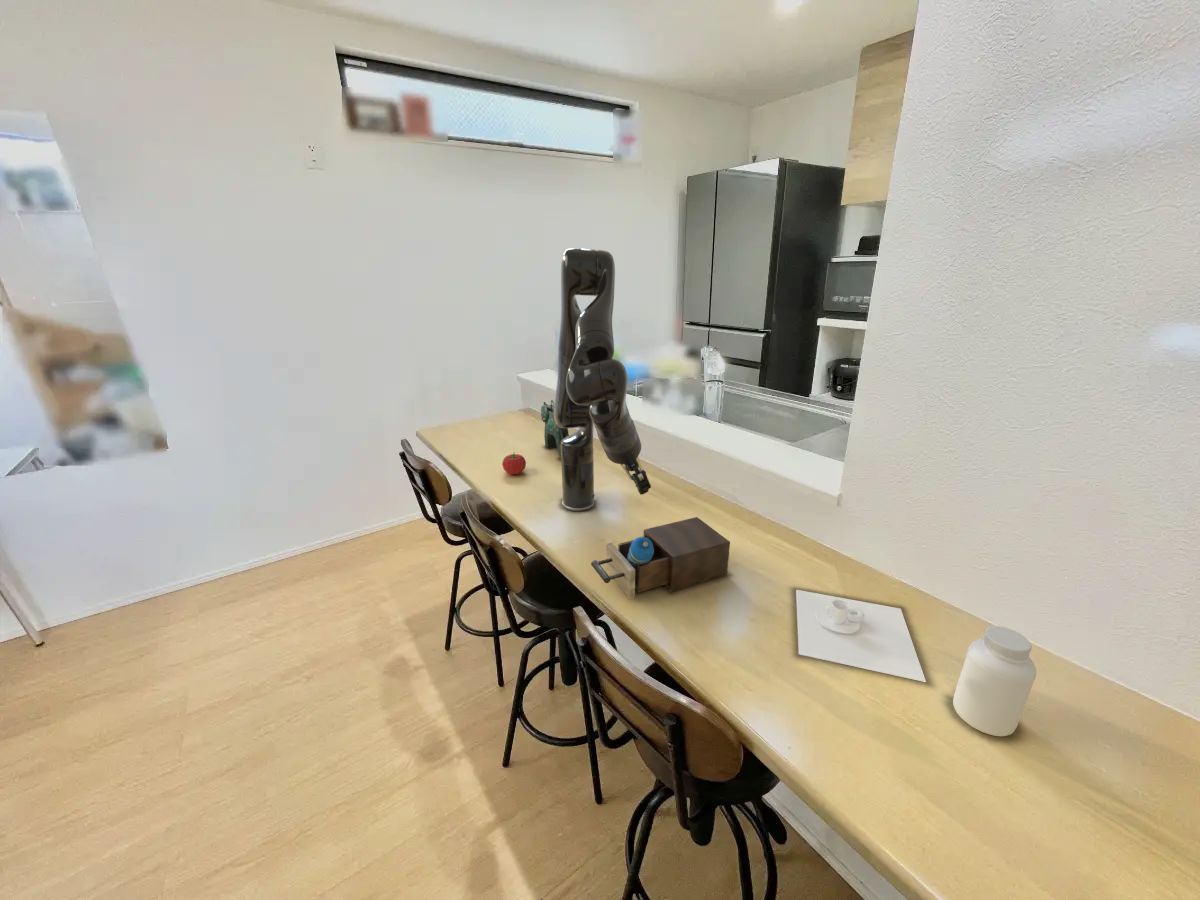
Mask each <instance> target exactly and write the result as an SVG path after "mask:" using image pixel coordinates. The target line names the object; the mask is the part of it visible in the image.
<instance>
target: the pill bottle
mask: <svg viewBox="0 0 1200 900" xmlns="http://www.w3.org/2000/svg"><path fill="white" fill-rule="evenodd" d="M1032 649H1033V646H1032V643H1031V642H1030V640H1029V639H1028V638H1027V637H1026V636H1024V635H1023V634H1021V633H1020V632H1018V631H1016V630H1013V629H1011V628H1009V627H1005V626H998V625H992V626H988V627H987V628H986V629H985V630H984V634H983V638H978V639H976V640H974V641H973V642H972V643H971V644H970V645H969V647H968V650H967V651H966V656H965V659H964V662H963V665H962V669H961V672H960V674H959V678H958V681H957V685H956V688H955V690H954V691H955V692H954V695H953V700H952V704H953V708H954V710H955V712H956V714H957V715H958V716H959V717H960V718H961V720H963V721H964V722H965V723H966V724H968V725H969V726H970V727H972V728H973V729H976V730H977V731H980V732H982V733H984V734H987V735H990V736H994V737H1007V736H1010V735H1012V734H1013V733H1014V732H1015V731H1016V729H1017V727H1018V725H1019V722H1020V719H1021V717H1022V714H1023V711H1024V709H1025V706H1026V704H1027V700H1028V699H1029V696H1030V693H1031V690H1032V688H1033V685H1034V682H1035V680H1036V678H1037V677H1036V676H1037V668H1036V665H1035V663H1034V661H1033V659H1032V658H1031V657H1030V655H1031V654H1030V653H1031V651H1032Z"/></svg>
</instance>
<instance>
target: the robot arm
mask: <svg viewBox="0 0 1200 900" xmlns="http://www.w3.org/2000/svg"><path fill="white" fill-rule="evenodd" d="M560 263H561V265H560V267H561V268H560V323H559V336H558V347H557V348H558V350H557V380H556V389H555V396H554V401H553V402H554V404H553V405H554V419H555V422H556V424H557V426H558V427H560V428H568V429H575V428H577V429H578V430H576V431H575V432H574V433H572V434H569V436H567V437H565V438H564V439H563V440H562V441H561V460H560V462H561V464H560V465H561V487H562V488H561V489H562V490H561V491H562V501H561V502H562V507H563V508H564V509H566V510H569V511H573V512H583V511H587V510H589V509H590V510H591V508H593V507H594V506H595V476H594V475H595V474H594V473H595V472H594V465H595V463H594V461H595V460H594V428H595V430H596V433H597V438H598V440H599V442H600V445H601V446H602V449H603V452H604V453H605V455H606V457H607V459H608V460H609V461H610V462H612V463H614V464H617V465H620V467H621V468H622V469H623V470H624V471H625V473H626V476H627V477H628V478H629V479H630V481H633V483H634V486H635V488H636V490H637V492H638V493H639V495H642V496H643V495H645V494H646V493H648V492H649V489H651V488H652V485H651V482H650V481H649V478H648V475H647V471H645V470H644V467H643V465H642V464H641V460H640V457H639V455H640V453H641V452H642V441H641V439H640V436H639V433H638V429H637V427H636V424H635V422H634V420H633V418H632V417H631V414H630V411H629V408H628V404H627V393H628V392H627V391H628V373H627V369H626V367H625V366H624V364H623V363H622V362H621V361H620V360H618V359H616V358H614V355H615V340H614V332H613V313H614V303H615V283H616V282H615V281H616V267H615V266H616V265H615V260H614V257H613V254H612V253H611V252H610V251H608V250H602V249H594V248H592V249H591V248H580V247H579V248H578V247H577V248H576V247H572V248H571V247H569V248H567V249H566V250H565V251H564V252H563V254H562V257H561V262H560ZM577 296H586V297H595V298H594V299H592V301H591V302H590V303H589V304H588V305H587V306H586V307H585V308H584V310H583V311H582V310H581V308H580V306H579V303H578V300H577ZM556 448H557V450H558V445H557V442H556ZM630 472H634V473H632V474H631V473H630Z"/></svg>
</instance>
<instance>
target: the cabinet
mask: <svg viewBox="0 0 1200 900" xmlns="http://www.w3.org/2000/svg"><path fill="white" fill-rule="evenodd" d="M643 537H649V538H650V539H651V540H652V541H653V542H654V543H655V544H656V545H657V546H658V547H659V548H660V549H661V550H662V551H663V552H664V553H666V554H667V555H668V556H669V557H670V558H671V567H670V583H668V584H665V585H664V586H665V587H666V588H667V589H668V590H669V591H670V593H673V592H677V591H679V590H682V589H686V588H689V587H693V586H695V585H699V584H702V583H705V582H709V581H712V580H716V579H719V578H722V577H726V576H728V567H729V559H730V557H729V556H730V548H731V547H730V546H731V541H730V540H728V539H727V538H726V537H725V536H724V535H722V534H720V533H719V532H718V531H717V530H715V529H713V528H712V527H711V526H710V525H708V524H707V523H706V522H705V521H704V520H703V519H701V518H699V517H698V516H695V517H691V518H685V519H682V520H679V521H674V522H670V523H665V524H661V525H658V526H653V527H649V528H645V529H643Z"/></svg>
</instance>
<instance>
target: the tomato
mask: <svg viewBox="0 0 1200 900" xmlns="http://www.w3.org/2000/svg"><path fill="white" fill-rule="evenodd" d="M501 465H502V469H503V470H504V471H505V472H506V473H507V474H508V475H520V474H521V473H523V471H524V470H525V469H526V465H527V461H526V458H525V457H524V456H523V455H521V454H519V453H518V454H517V453H516V452H515V451H514V452H513V453H512V454H508V455H506V456H505V457H504V458H503V460H502V464H501Z"/></svg>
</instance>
